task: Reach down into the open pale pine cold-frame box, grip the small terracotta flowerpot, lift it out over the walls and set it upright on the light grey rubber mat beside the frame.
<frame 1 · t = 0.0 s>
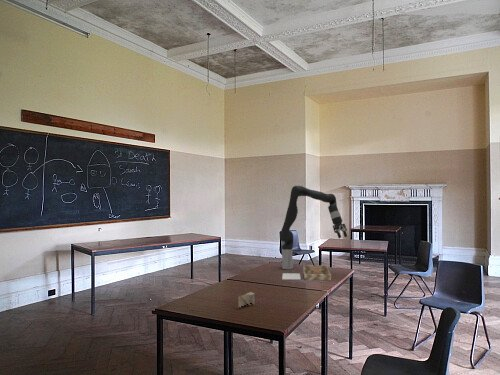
hand: (343, 237, 283), 31 cm above the table, tool tilted 20°, fingers open, 8 cm apart
grey mat: (291, 276, 290), on the table
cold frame: (316, 276, 288), on the table
terracotta pot: (316, 276, 288), resting in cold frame
model: (246, 307, 215), on the table
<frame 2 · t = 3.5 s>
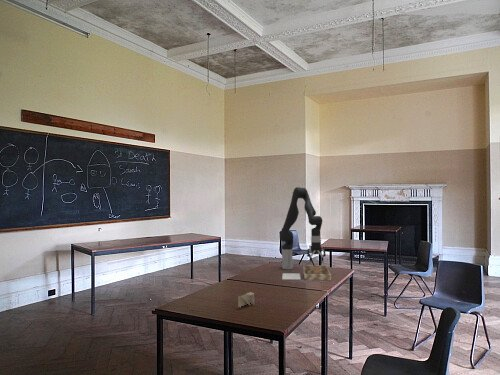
hand: (316, 262, 288), 12 cm above the table, tool pointing down, fingers open, 8 cm apart
nothing on the table moved.
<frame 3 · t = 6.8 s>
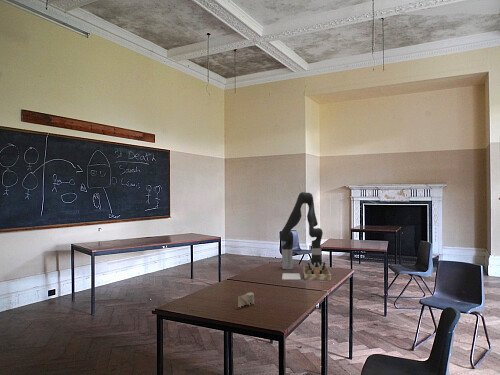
hand: (316, 275, 288), 1 cm above the table, tool pointing down, fingers closed on terracotta pot, 5 cm apart
terracotta pot: (316, 276, 288), resting in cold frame, touching gripper
everything else where it was.
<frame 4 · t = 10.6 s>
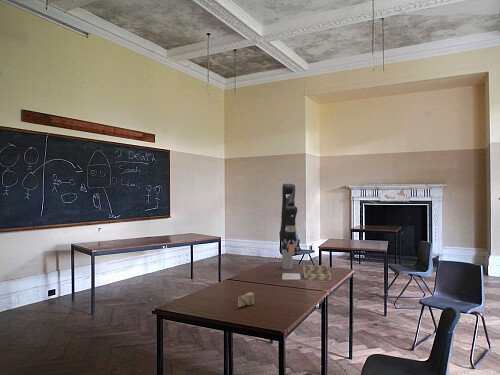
hand: (291, 252, 290), 19 cm above the table, tool pointing down, fingers closed on terracotta pot, 5 cm apart
terracotta pot: (291, 254, 290), point 18 cm above the table, touching gripper
everything else where it was.
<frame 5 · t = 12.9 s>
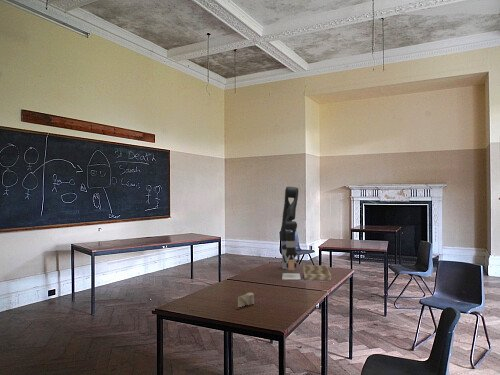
hand: (291, 267, 290), 7 cm above the table, tool pointing down, fingers closed on terracotta pot, 5 cm apart
terracotta pot: (291, 269, 290), point 6 cm above the table, touching gripper
everything else where it was.
when the fingers open (4 cm above the table, at t = 14.6 s): terracotta pot drops 2 cm, resting on grey mat.
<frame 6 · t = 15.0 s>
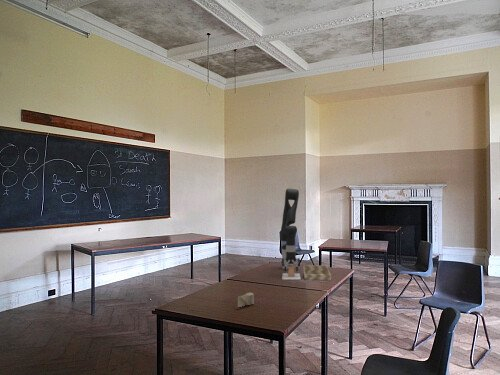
hand: (291, 271, 290), 4 cm above the table, tool pointing down, fingers open, 8 cm apart
terracotta pot: (291, 276, 290), point 1 cm above the table, touching grey mat
everything else where it was.
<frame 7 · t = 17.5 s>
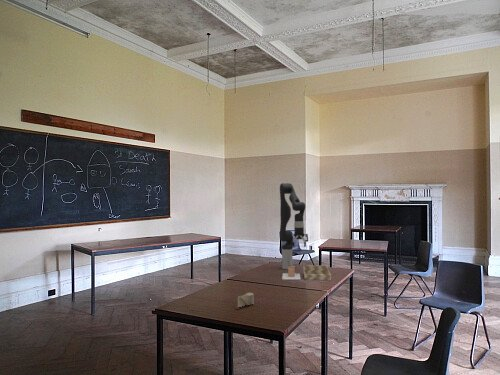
hand: (299, 246, 296), 23 cm above the table, tool pointing down, fingers open, 8 cm apart
nothing on the table moved.
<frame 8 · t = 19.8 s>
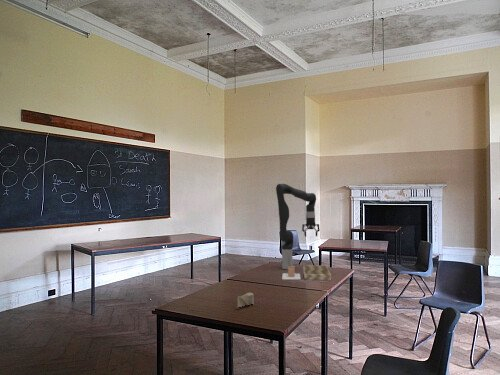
hand: (310, 236, 304), 30 cm above the table, tool pointing down, fingers open, 8 cm apart
at the end: terracotta pot inside the target area (0.1 cm from its centre), point 0.6 cm above the table; terracotta pot tilted 0°; the gripper is holding nothing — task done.
